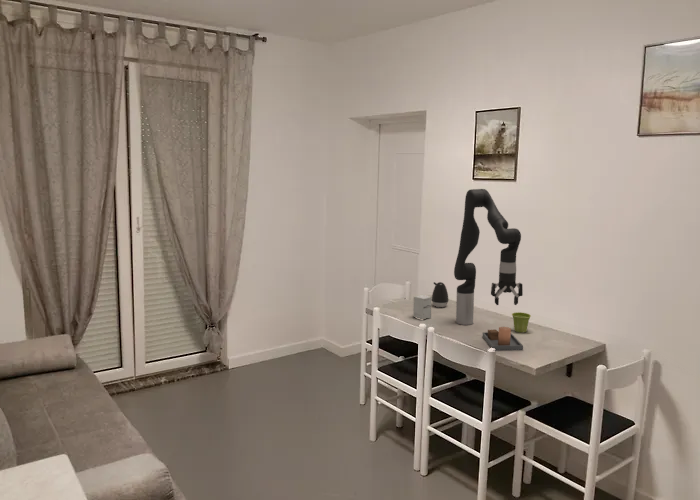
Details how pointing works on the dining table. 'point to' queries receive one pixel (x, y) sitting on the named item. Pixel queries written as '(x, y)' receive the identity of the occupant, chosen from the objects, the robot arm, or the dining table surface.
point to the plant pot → (520, 321)
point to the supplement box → (422, 306)
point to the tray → (494, 344)
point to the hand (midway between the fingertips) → (506, 304)
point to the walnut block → (493, 334)
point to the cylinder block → (504, 336)
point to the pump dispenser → (440, 295)
